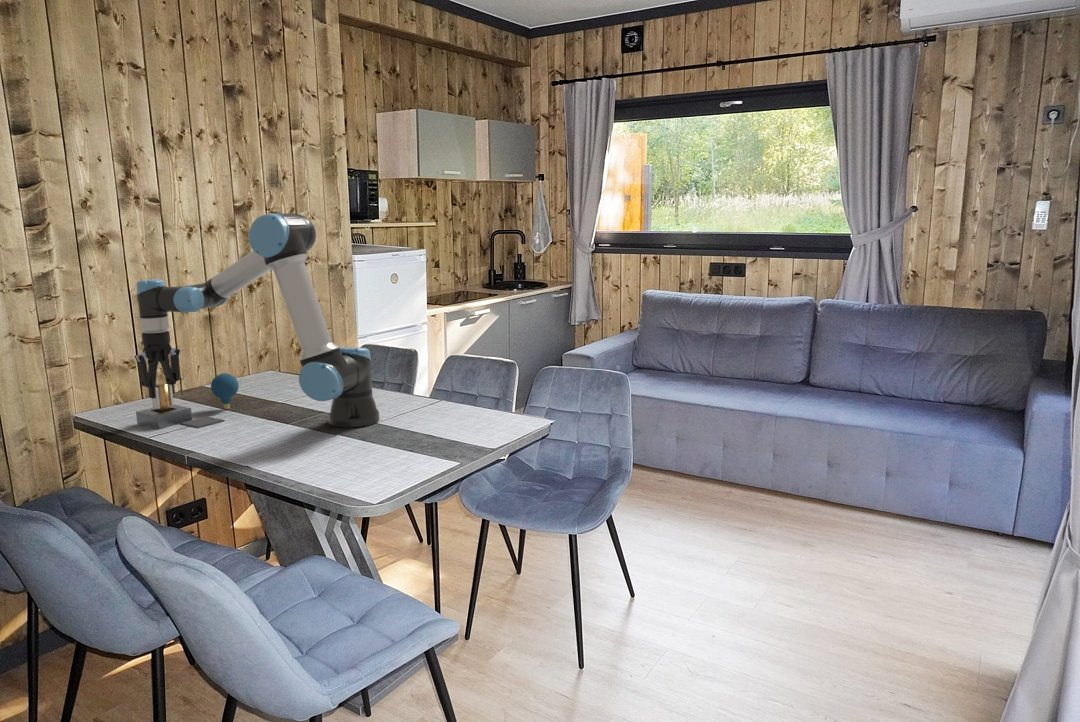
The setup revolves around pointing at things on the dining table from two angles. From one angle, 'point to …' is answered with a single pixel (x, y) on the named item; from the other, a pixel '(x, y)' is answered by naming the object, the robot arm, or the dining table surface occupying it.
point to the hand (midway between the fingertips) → (163, 406)
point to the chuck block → (163, 417)
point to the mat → (202, 422)
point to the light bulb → (224, 388)
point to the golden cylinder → (163, 397)
